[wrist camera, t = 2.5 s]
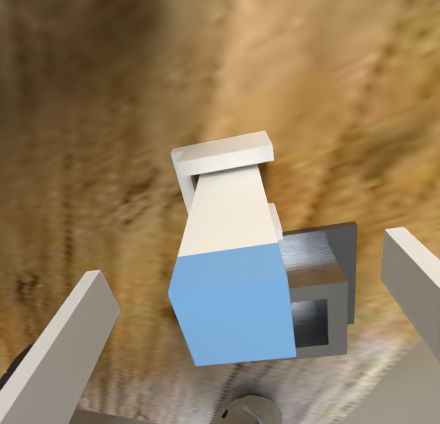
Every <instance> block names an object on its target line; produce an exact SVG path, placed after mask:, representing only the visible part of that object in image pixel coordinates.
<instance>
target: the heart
mask: <svg viewBox="0 0 440 424" xmlns="http://www.w3.org/2000/svg"><path fill="white" fill-rule="evenodd" d="M210 424H282V416H281V412H280V410H279V409H278V407H277V405H276V404H275V403H274V402H273V401H272V400H270V399H268V398H264V397H260V396H254V395H248V396H245V397H243V398H238V399H235V400H233V401H232V402H231V403H228V404H226V405H224V406H222V407H221V408H220V410H219V411H218V412H217V414H216V415H215V416H214V418H213V420H212V421H211V423H210Z"/></svg>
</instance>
